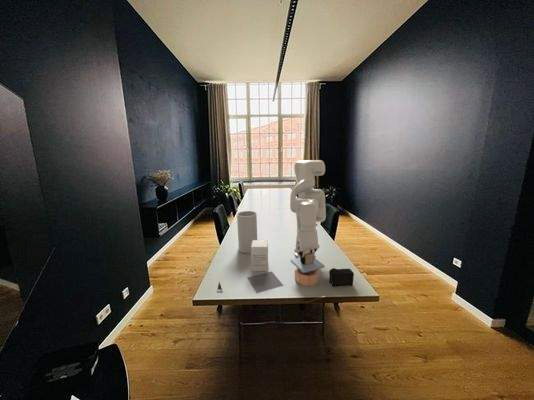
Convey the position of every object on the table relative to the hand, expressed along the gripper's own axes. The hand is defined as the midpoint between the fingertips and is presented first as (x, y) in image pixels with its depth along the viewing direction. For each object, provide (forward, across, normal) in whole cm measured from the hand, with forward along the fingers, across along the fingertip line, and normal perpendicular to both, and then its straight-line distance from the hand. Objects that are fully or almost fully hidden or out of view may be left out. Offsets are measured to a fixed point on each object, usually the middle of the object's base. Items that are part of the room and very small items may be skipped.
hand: (306, 262), depth 109 cm
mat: (+10, +20, -7) cm, 23 cm away
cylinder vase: (+10, +16, -46) cm, 50 cm away
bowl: (+10, 0, 0) cm, 10 cm away
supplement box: (+10, +17, -21) cm, 29 cm away
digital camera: (+11, -14, +9) cm, 20 cm away
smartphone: (+11, +38, -15) cm, 42 cm away
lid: (+1, 0, 0) cm, 1 cm away
